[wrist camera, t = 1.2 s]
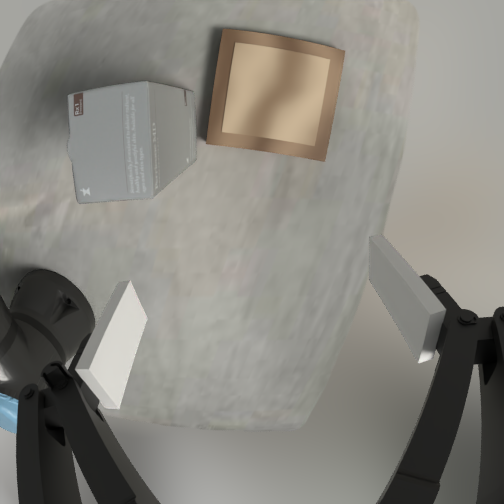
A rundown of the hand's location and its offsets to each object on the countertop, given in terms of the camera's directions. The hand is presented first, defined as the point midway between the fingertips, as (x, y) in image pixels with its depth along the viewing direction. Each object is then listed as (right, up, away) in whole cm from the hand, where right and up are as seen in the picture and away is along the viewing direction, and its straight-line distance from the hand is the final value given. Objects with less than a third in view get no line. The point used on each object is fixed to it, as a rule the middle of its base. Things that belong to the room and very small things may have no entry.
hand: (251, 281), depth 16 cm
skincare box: (-10, +16, +16) cm, 24 cm away
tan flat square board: (+3, +19, +14) cm, 23 cm away
